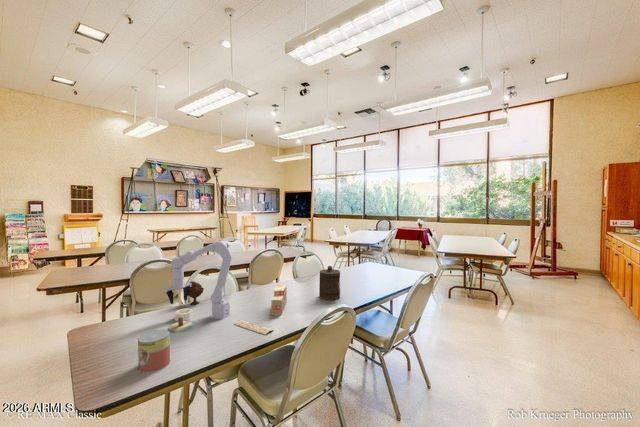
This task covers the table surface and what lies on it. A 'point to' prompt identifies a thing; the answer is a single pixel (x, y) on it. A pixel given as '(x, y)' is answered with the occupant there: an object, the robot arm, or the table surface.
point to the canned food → (153, 351)
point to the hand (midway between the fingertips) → (178, 301)
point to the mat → (182, 331)
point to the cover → (180, 325)
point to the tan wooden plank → (252, 327)
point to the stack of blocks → (278, 300)
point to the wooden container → (329, 284)
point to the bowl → (184, 314)
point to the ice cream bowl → (195, 292)
